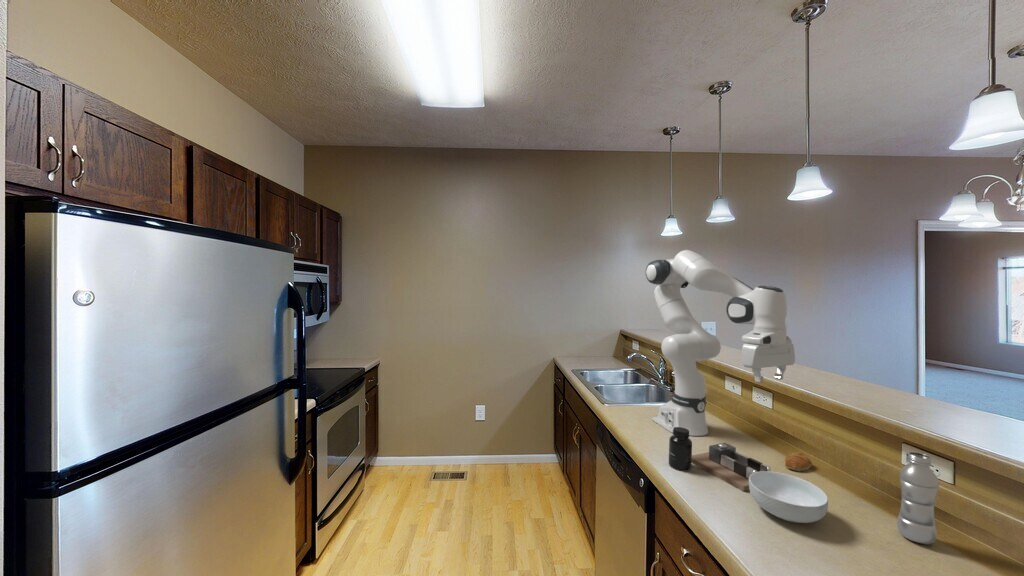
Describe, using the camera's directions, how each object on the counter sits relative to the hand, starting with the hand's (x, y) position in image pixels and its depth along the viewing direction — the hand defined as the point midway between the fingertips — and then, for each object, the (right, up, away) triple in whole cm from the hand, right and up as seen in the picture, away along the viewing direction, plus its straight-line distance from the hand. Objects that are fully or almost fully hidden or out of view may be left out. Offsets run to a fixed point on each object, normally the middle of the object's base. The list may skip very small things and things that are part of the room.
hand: (769, 380), depth 123 cm
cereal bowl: (-11, -29, -23) cm, 39 cm away
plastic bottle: (+13, -30, -32) cm, 46 cm away
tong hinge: (-13, -27, +4) cm, 30 cm away
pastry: (+12, -30, +4) cm, 32 cm away
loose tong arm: (-7, -27, -3) cm, 28 cm away
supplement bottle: (-27, -29, +2) cm, 40 cm away
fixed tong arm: (-13, -27, -5) cm, 30 cm away
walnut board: (-12, -29, 0) cm, 31 cm away
